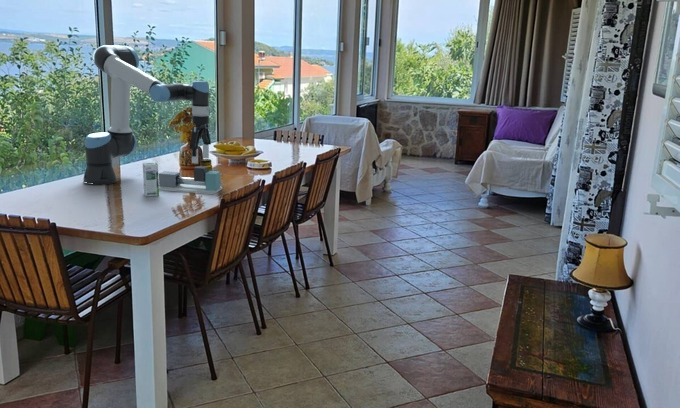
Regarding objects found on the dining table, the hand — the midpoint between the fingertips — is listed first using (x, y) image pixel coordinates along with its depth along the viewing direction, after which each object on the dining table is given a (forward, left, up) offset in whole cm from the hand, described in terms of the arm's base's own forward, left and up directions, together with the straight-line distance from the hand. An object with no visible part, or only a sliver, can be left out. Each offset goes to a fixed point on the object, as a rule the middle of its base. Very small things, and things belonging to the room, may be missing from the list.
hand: (200, 160), depth 278 cm
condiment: (-4, +14, -14) cm, 20 cm away
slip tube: (-3, 0, -12) cm, 12 cm away
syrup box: (-17, -16, -14) cm, 27 cm away
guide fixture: (-5, 0, -14) cm, 15 cm away
